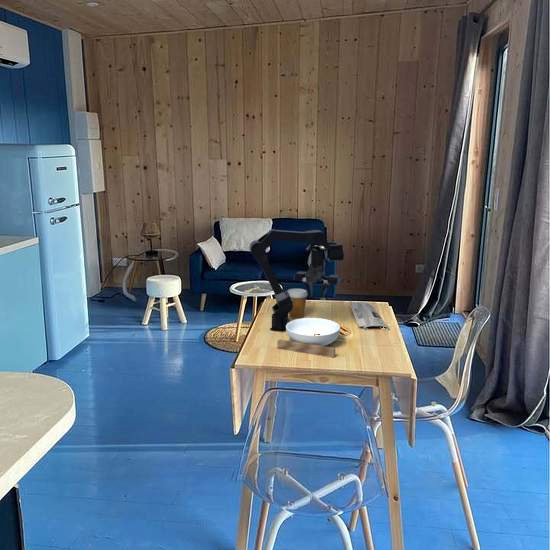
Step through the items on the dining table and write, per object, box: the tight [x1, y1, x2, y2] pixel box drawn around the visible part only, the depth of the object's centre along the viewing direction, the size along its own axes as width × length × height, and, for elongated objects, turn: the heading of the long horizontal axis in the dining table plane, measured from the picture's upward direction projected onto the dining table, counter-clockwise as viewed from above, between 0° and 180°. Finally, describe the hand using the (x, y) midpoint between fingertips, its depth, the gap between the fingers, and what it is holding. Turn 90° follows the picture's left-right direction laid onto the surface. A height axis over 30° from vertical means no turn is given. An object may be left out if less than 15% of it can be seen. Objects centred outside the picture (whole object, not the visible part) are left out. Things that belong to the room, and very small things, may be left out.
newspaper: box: [349, 300, 390, 331], centre depth 234 cm, size 35×12×4 cm, turn 2°
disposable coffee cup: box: [287, 288, 309, 320], centre depth 233 cm, size 10×10×12 cm
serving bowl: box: [285, 317, 341, 347], centre depth 201 cm, size 21×21×7 cm
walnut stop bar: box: [277, 339, 336, 359], centre depth 192 cm, size 22×2×3 cm, turn 66°
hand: (316, 298), depth 217 cm, fingers open, 5 cm apart
